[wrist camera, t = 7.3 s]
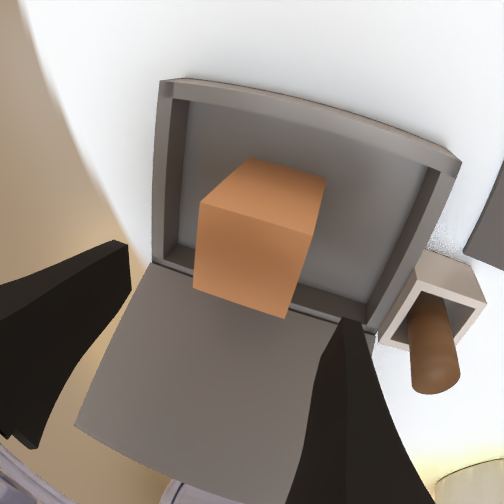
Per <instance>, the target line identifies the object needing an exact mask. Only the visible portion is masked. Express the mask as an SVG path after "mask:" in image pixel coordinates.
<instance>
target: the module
mask: <svg viewBox="0 0 504 504" xmlns="http://www.w3.org/2000/svg"><path fill="white" fill-rule="evenodd" d="M325 183H326V178H323V177H320V176H317V175H313V174H310V173H307V172H303V171H300V170H296V169H293V168H289V167H286V166H282V165H278V164H275V163H271V162H267V161H263V160H260V159H256V158H252V157H249V158H248V159H247V160H246V161H245V162H244V163H242V164H241V165H240V166H239V167H238V168H237V169H236V170H235V171H233V172H232V173H231V174H230V175H229V176H228V177H227V178H226V179H225V180H223V181H222V182H221V183H220V184H219V185H218V186H217V187H216V188H215V189H214V190H212V191H211V192H210V193H209V194H208V195H207V196H206V197H205V198H204V199H203V200H202V201H201V202H200V206H199V217H198V227H197V238H196V250H195V262H194V275H193V288H195V289H197V290H200V291H203V292H206V293H209V294H211V295H214V296H217V297H220V298H223V299H226V300H229V301H231V302H234V303H237V304H240V305H243V306H246V307H249V308H252V309H255V310H258V311H261V312H264V313H267V314H270V315H273V316H276V317H280V318H283V319H285V316H286V313H287V311H288V308H289V305H290V302H291V299H292V297H293V294H294V291H295V288H296V285H297V282H298V279H299V276H300V273H301V270H302V267H303V264H304V261H305V258H306V255H307V252H308V249H309V246H310V243H311V240H312V237H313V233H314V229H315V225H316V221H317V217H318V213H319V209H320V204H321V200H322V196H323V192H324V187H325Z"/></svg>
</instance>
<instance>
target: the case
mask: <svg viewBox="0 0 504 504" xmlns="http://www.w3.org/2000/svg"><path fill="white" fill-rule="evenodd" d="M249 157H252V158H256V159H260V160H263V161H267V162H271V163H275V164H278V165H282V166H286V167H289V168H293V169H296V170H300V171H303V172H307V173H310V174H313V175H317V176H320V177H323V178H326V183H325V187H324V192H323V196H322V200H321V204H320V209H319V213H318V217H317V221H316V225H315V229H314V233H313V237H312V240H311V243H310V246H309V249H308V252H307V255H306V258H305V261H304V264H303V267H302V270H301V273H300V276H299V279H298V282H297V285H296V288H295V291H294V294H293V297H292V299H291V302H290V305H289V308H288V311H287V313H286V316H285V319H283V318H280V317H276V316H273V315H270V314H267V313H264V312H261V311H258V310H255V309H252V308H249V307H246V306H243V305H240V304H237V303H234V302H231V301H229V300H226V299H223V298H220V297H217V296H214V295H211V294H209V293H206V292H203V291H200V290H197V289H195V288H193V275H194V262H195V250H196V238H197V227H198V217H199V206H200V202H201V201H202V200H203V199H204V198H205V197H206V196H207V195H208V194H209V193H210V192H211V191H212V190H214V189H215V188H216V187H217V186H218V185H219V184H220V183H221V182H222V181H223V180H225V179H226V178H227V177H228V176H229V175H230V174H231V173H232V172H233V171H235V170H236V169H237V168H238V167H239V166H240V165H241V164H242V163H244V162H245V161H246V160H247V159H248V158H249ZM461 164H462V162H461V161H460V160H459V159H458V158H457V157H456V156H455V155H453V154H452V153H451V152H450V151H449V150H448V149H446V148H444V147H442V146H439V145H437V144H435V143H432V142H430V141H428V140H425V139H423V138H420V137H418V136H416V135H413V134H411V133H408V132H405V131H403V130H400V129H398V128H395V127H392V126H389V125H387V124H384V123H381V122H378V121H375V120H372V119H370V118H367V117H364V116H360V115H357V114H354V113H351V112H348V111H344V110H341V109H338V108H334V107H331V106H327V105H324V104H320V103H316V102H313V101H309V100H305V99H301V98H297V97H293V96H288V95H284V94H280V93H275V92H270V91H266V90H261V89H256V88H250V87H245V86H239V85H233V84H227V83H221V82H214V81H207V80H199V79H191V78H178V79H169V80H161V81H160V83H159V93H158V103H157V114H156V126H155V140H154V157H153V180H152V263H151V262H150V264H149V266H148V268H147V270H146V272H145V274H144V275H143V277H142V279H141V281H140V283H139V285H138V287H137V289H136V291H135V293H134V294H133V296H132V299H131V300H130V302H129V304H128V306H127V308H126V310H125V312H124V314H123V316H122V318H121V320H120V322H119V324H118V327H117V328H116V331H115V333H114V335H113V337H112V339H111V341H110V343H109V345H108V347H107V350H106V352H105V354H104V356H103V358H102V360H101V363H100V365H99V367H98V369H97V371H96V374H95V376H94V378H93V381H92V383H91V385H90V388H89V390H88V392H87V395H86V397H85V399H84V402H83V404H82V407H81V409H80V411H79V414H78V417H77V419H76V421H75V424H74V426H75V427H77V428H78V429H80V430H81V431H83V432H84V433H86V434H88V435H89V436H91V437H92V438H94V439H96V440H97V441H99V442H101V443H103V444H104V445H106V446H108V447H110V448H111V449H113V450H115V451H117V452H119V453H121V454H122V455H124V456H126V457H128V458H130V459H132V460H134V461H136V462H138V463H140V464H142V465H144V466H146V467H148V468H150V469H152V470H155V471H157V472H159V473H161V474H163V475H166V476H168V477H170V478H173V479H175V480H177V481H180V482H182V483H185V484H187V485H190V486H193V487H195V488H198V489H200V490H203V491H206V492H209V493H212V494H215V495H218V496H221V497H224V498H227V499H230V500H233V501H236V502H240V503H243V504H285V502H286V499H287V496H288V494H289V491H290V488H291V485H292V482H293V479H294V476H295V473H296V470H297V467H298V464H299V461H300V457H301V453H302V449H303V444H304V439H305V433H306V427H307V421H308V415H309V409H310V402H311V396H312V389H313V384H314V380H315V376H316V372H317V368H318V364H319V361H320V357H321V355H322V353H323V351H324V350H325V348H326V346H327V344H328V342H329V341H330V339H331V337H332V335H333V333H334V331H335V329H336V327H337V326H338V324H339V322H340V320H341V318H342V317H346V318H349V319H352V320H356V321H359V322H361V324H362V326H363V330H364V333H365V337H366V341H367V344H368V348H369V351H370V355H371V357H372V352H373V347H374V342H375V337H376V336H375V334H376V333H377V331H378V343H380V344H383V345H387V346H391V347H394V348H398V349H402V350H405V351H409V352H410V350H409V339H408V329H407V320H406V315H407V313H408V311H409V310H410V308H411V307H412V305H413V303H414V302H415V300H416V299H417V297H418V295H419V294H420V292H421V291H424V292H427V293H430V294H433V295H436V296H439V297H442V298H444V303H445V306H446V310H447V314H448V318H449V322H450V326H451V330H452V334H453V339H454V343H455V346H456V345H457V344H458V342H459V341H460V340H461V339H462V337H463V336H464V335H465V333H466V332H467V331H468V330H469V328H470V327H471V326H472V324H473V323H474V322H475V320H476V319H477V318H478V316H479V315H480V314H481V312H482V311H483V309H484V308H485V307H486V305H487V302H486V300H485V297H484V295H483V292H482V290H481V288H480V285H479V283H478V281H477V278H476V276H475V274H474V272H473V270H472V268H471V266H469V265H466V264H464V263H461V262H459V261H456V260H454V259H451V258H448V257H446V256H443V255H441V254H438V253H435V252H433V251H430V250H427V249H424V248H425V246H426V244H427V242H428V240H429V238H430V236H431V234H432V232H433V230H434V228H435V226H436V224H437V222H438V219H439V217H440V215H441V213H442V211H443V208H444V206H445V204H446V201H447V199H448V197H449V194H450V192H451V190H452V187H453V185H454V182H455V180H456V177H457V175H458V172H459V170H460V167H461Z"/></svg>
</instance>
